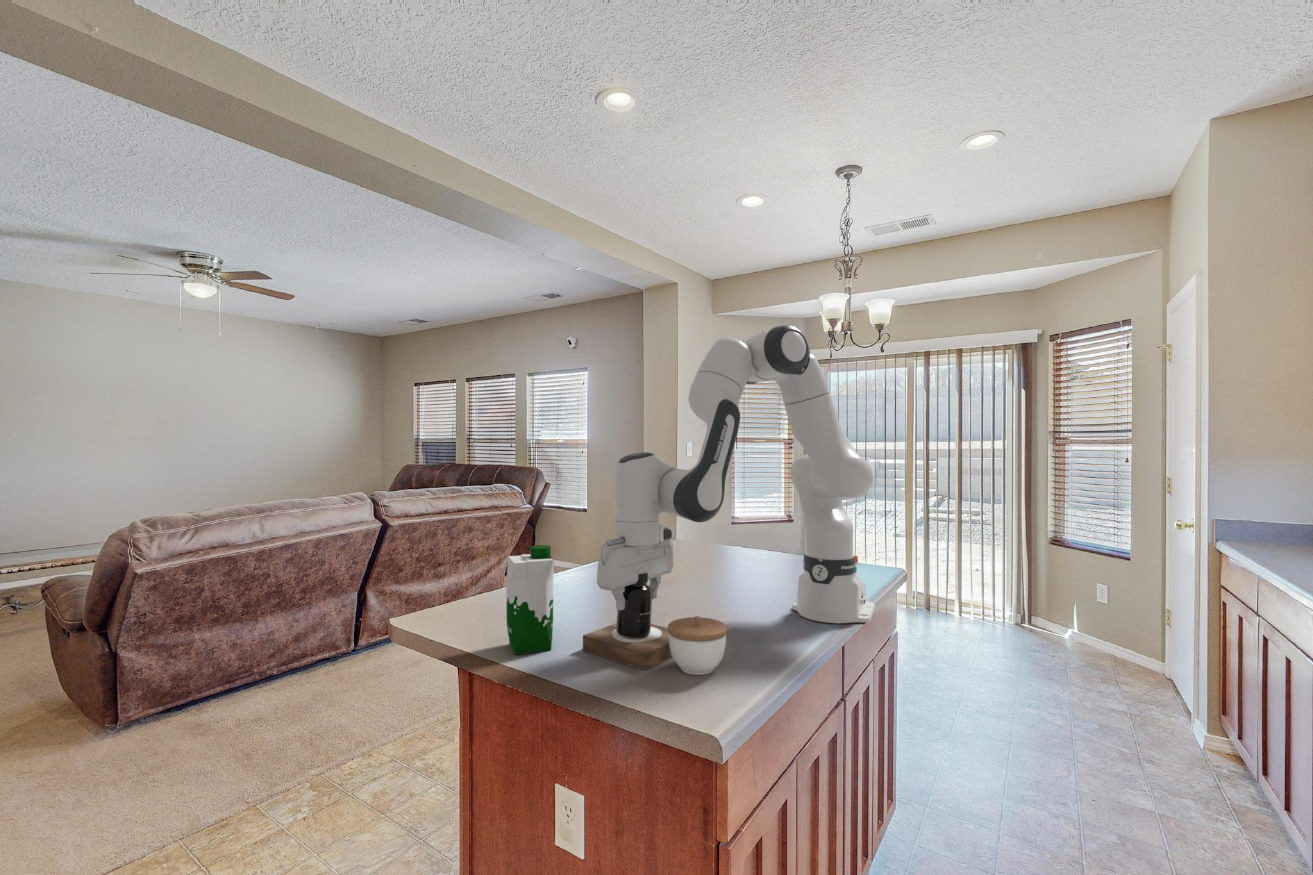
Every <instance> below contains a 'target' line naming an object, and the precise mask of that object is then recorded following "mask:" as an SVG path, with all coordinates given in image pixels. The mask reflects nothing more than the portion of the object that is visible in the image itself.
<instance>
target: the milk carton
mask: <svg viewBox="0 0 1313 875" xmlns="http://www.w3.org/2000/svg"><path fill="white" fill-rule="evenodd" d="M551 547H552V546H550V545H547V544H546V545H545V544H544V545H543V544H541V545H540V544H539V545H531V547H530V553H529V554H528V553H527V554H520V555H511V556H509V555H508V557H507V568H506V628H507V636H508V642H509V646H510V648H511V649H512V651H513V654H514V655H515V656H518V655H517V654H519V655H526V654H532V653H540V652H547V651H552V648H553V647H552V646H553V644H552V643H553V631H554V630H553V628H554V570H555V569H554V567H555V566H554V565H555V563H554V562H555V561H554V558H553V557H552V553H551V552H552V551H551V550H552V549H551Z"/></svg>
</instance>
